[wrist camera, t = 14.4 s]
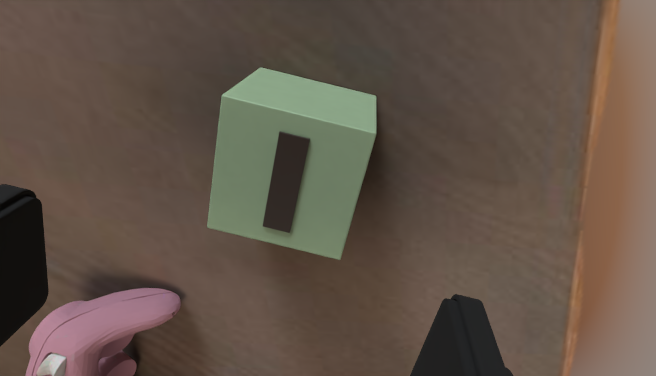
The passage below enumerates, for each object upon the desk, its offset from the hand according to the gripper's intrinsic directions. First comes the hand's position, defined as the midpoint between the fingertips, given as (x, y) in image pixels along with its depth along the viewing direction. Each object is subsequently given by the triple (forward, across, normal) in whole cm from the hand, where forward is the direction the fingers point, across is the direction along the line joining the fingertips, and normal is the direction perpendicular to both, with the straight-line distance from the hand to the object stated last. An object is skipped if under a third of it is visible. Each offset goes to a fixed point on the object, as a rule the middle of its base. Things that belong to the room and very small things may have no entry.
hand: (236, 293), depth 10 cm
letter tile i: (+10, 0, 0) cm, 10 cm away
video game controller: (+11, +7, +14) cm, 19 cm away
